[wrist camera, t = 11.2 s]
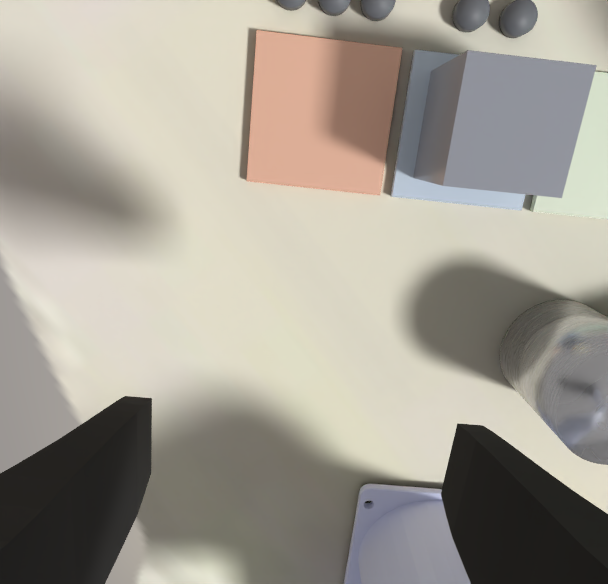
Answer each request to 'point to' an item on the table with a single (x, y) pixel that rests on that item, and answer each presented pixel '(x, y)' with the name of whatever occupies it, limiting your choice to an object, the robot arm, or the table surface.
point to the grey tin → (563, 372)
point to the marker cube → (502, 123)
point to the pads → (388, 115)
